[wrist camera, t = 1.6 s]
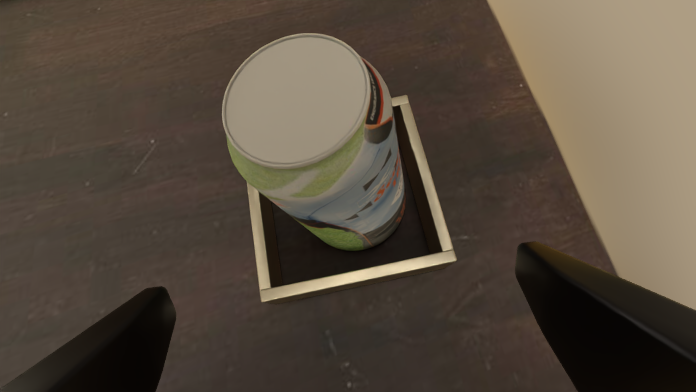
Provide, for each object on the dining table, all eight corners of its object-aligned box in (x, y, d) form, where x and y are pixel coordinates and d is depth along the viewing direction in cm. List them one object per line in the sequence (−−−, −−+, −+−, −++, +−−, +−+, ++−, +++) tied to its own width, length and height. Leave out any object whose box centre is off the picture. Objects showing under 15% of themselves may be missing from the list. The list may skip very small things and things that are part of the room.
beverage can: (412, 246, 21) (466, 164, 10) (289, 264, 21) (202, 203, 10) (392, 151, 23) (419, -8, 12) (280, 168, 23) (200, 25, 12)
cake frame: (444, 268, 21) (457, 260, 18) (274, 304, 20) (260, 302, 18) (401, 120, 24) (407, 94, 21) (255, 150, 24) (240, 127, 21)
